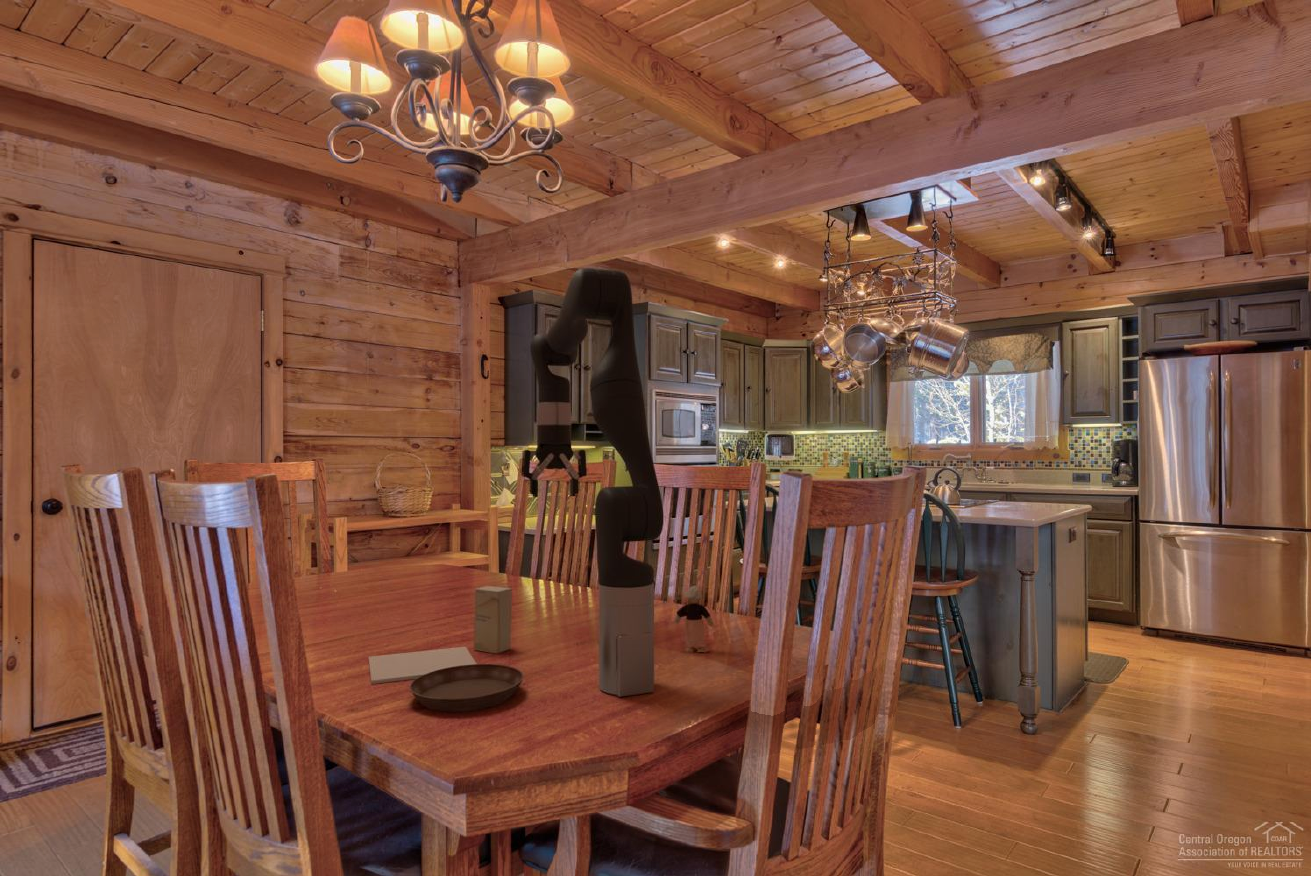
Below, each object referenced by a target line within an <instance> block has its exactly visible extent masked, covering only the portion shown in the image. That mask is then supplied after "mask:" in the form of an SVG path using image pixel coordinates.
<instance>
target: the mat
mask: <svg viewBox="0 0 1311 876" xmlns="http://www.w3.org/2000/svg"><path fill="white" fill-rule="evenodd" d="M472 664H477V662H476V660H475V659H474V657H473V656H472V654H471V653H470V651H469V649H468V648H467V647H466V646H460V647H459V646H458V647H450V648H441V649H432V650H431V649H430V650H421V651H413V652H410V651H409V652H402V653H393V654H383V655H381V654H380V655H373V656H368V666H369V668H368V669H369V674H370V676H369V677H370V681H371V682H370V683H371V685H374V684H384V683H392V682H402V681H409V680H415V679H416V678H418V677H420V676H422V675H425V674H427V673H430V672H433V671H436V670H440V669H444V668H448V667H454V666H461V665H472Z"/></svg>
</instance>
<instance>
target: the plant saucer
mask: <svg viewBox="0 0 1311 876" xmlns="http://www.w3.org/2000/svg"><path fill="white" fill-rule="evenodd" d="M523 679H524V674H523V672H522V670H520V669H518V668H515V667H513V666H510V665H502V664H494V663H476V664H472V665H461V666H454V667H448V668H444V669H440V670H436V671H433V672H430V673H427V674H425V675H422V676H420V677H418V678H416V679H413V680H412V681H411V683H410V684H409V690H410V692H411V694H412V695H413V697H415V699H416V700H417V701H418V702H419V703H420V704H421V705H422V706H424V707H425V708H427V709H430V710H433V709H434V710H433V711H438V710H439V712H451V713H453V712H455V713H456V711H462V712H470V711H469V710H473V711H478V710H477V709H479V710H484V709H488V708H492V707H495V706H497V704H498V705H499V704H503V702H506V701H507V700H508V699H510V698H511V697H512V696H513V694H514V693H515V692H516V691H517V690H518V689H519V686H520V685H521V683H523V682H522V681H523ZM491 706H492V707H491Z"/></svg>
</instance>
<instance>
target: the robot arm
mask: <svg viewBox="0 0 1311 876" xmlns="http://www.w3.org/2000/svg"><path fill="white" fill-rule="evenodd" d="M632 294H633V293H632V286H631V282H630V279H629V277H628V275H627V274H626V273H625V272H622V271H620V270H616V269H615V270H613V269H598V268H593V267H592V268H591V267H590V268H589V267H586V268H585V267H583V268H580V269H577V270H576V272H574V273H573V275H572V277H571V278H570V280H569V282H568V286H567V289H566V292H565V294H564V297H563V301H562V304H561V307H560V310H559V313H558V316H557V317H556V319H555V320H554V322H553V323H552V325H551V326H550V328H549V329H548V332H547V333H536V334H535V335H534V336H533V337H532V339H531V341H530V345H529V352H530V357H531V360H532V363H533V366H534V369H535V370H534V371H535V374H536V380H537V387H538V389H537V390H538V392H537V394H538V396H537V397H538V398H537V400H538V402H537V404H538V405H537V416H536V417H537V418H536V426H537V427H536V428H537V429H536V432H537V433H536V439H537V441H536V443H537V444H536V450H529V449H524V450H523V451H522V457H521V458H522V460H521V472H520V473H521V476H522V477H523V478H526V479H528V480H529V492H530V495H531V496H532V497H533V498H538V497H539V481H538V478H539V477H540V475H541V474H542V473H544V471H545V469H546V470H563V469H564V471H565V472H566V473H567V474H568V476H570V479H569V496H570V497H576V496H577V495H578V493H579V480H580V479H581V478H583V477H587V470H588V469H587V459H586V458H587V456H586V450H584V449H579V450H573V448H572V410H571V383H570V379H568V378H567V377H565V376H562V375H558V374H555V373H553V372H552V371H551V370H550V367H549V366H551V367H553V366H554V367H569V366H571V365H573V364H575V363H576V361H577V359H578V354H579V353H578V352H579V349H578V348H579V346H580V345H581V344H582V342H583V341H584V340H585V339H586V337H587V334H588V330H589V329H588V328H589V326H588V325H589V324H588V321H587V320H602V321H603V320H604V321H610V324H611V338H610V341H609V343H608V346H607V348H606V350H605V352H604V354H603V355H602V357H601V358H600V360H599V362H598V364H597V365H596V367H595V368H594V371H593V373H592V376H591V378H590V382H589V393H590V400H591V401H590V402H591V408H592V410H591V411H592V416H593V420H594V421H595V424H596V426H597V428H598V429H599V431H600V432H601V433H602V435H603V436H604V438H605V439H606V440H607V441H608V443H610V444H611V446H612V447H613V448H614V449H615V451H616V452H617V453H618V455H619V456H620V457H621V459H622V462H623V463H624V464H625V466H626V468H627V470H628V474H629V477H630V480H631V484H632V486H630V485H629V486H623V485H622V486H606V487H605V486H604V487H603V488H601V489H600V490H599V492H598V493H597V495H596V498H595V505H594V518H595V519H594V520H595V535H596V537H595V539H596V560H597V561H596V565H597V572H598V573H597V575H598V689H599V690H600V691H602V692H603V693H607V694H611V695H616V696H617V697H620V698H621V697H626V696H634V695H635V696H636V695H641V694H648V693H654V692H655V583H654V582H655V574H654V567H653V566H652V565H651V564H649V563H647V562H644V561H640V560H637V559H635V558H632V557H630V556H628V555H626V553H625V552H624V550H623V545H622V543H630V542H646V541H647V542H648V541H653V540H654V541H655V540H656V539H658V538H660V535H661V534H662V532H663V528H664V519H665V518H664V516H665V515H664V506H663V500H662V495H661V490H660V487H659V481H658V476H657V473H656V470H655V469H656V468H655V465H654V460H653V457H652V456H653V455H652V451H651V445H650V444H651V443H650V439H649V433H648V424H647V415H646V408H645V405H646V404H645V400H644V392H643V385H642V378H641V375H640V369H639V362H638V355H637V354H638V353H637V349H636V339H635V324H634V307H633V295H632ZM534 457H536V459H537V460H538V463H536V464H537V465H536V466H535V467H534V469H533V470H532V472H530V468H531V466H530V465H531V461H532V460H533V459H534ZM573 457H574V459H575V460H576V461H577V470H578V471H576V470H575V467H574V466H573V464H572V463H571V462H570V461H571V460H572V458H573Z"/></svg>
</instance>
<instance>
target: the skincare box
mask: <svg viewBox="0 0 1311 876" xmlns="http://www.w3.org/2000/svg"><path fill="white" fill-rule="evenodd" d="M512 590H513V589H512V588H511V587H505V586H504V587H503V586H493V585H485V586H481V587H477V588H475V589H474V623H473V650H475V651H480V652H484V653H485V652H487V653H489V654H490V653H491V654H499V653H500V654H501V653H503V652H505V651H508V650H511V642H512V641H511V637H512V636H511V635H512V630H511V629H512V596H513V595H512V593H513V591H512Z"/></svg>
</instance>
